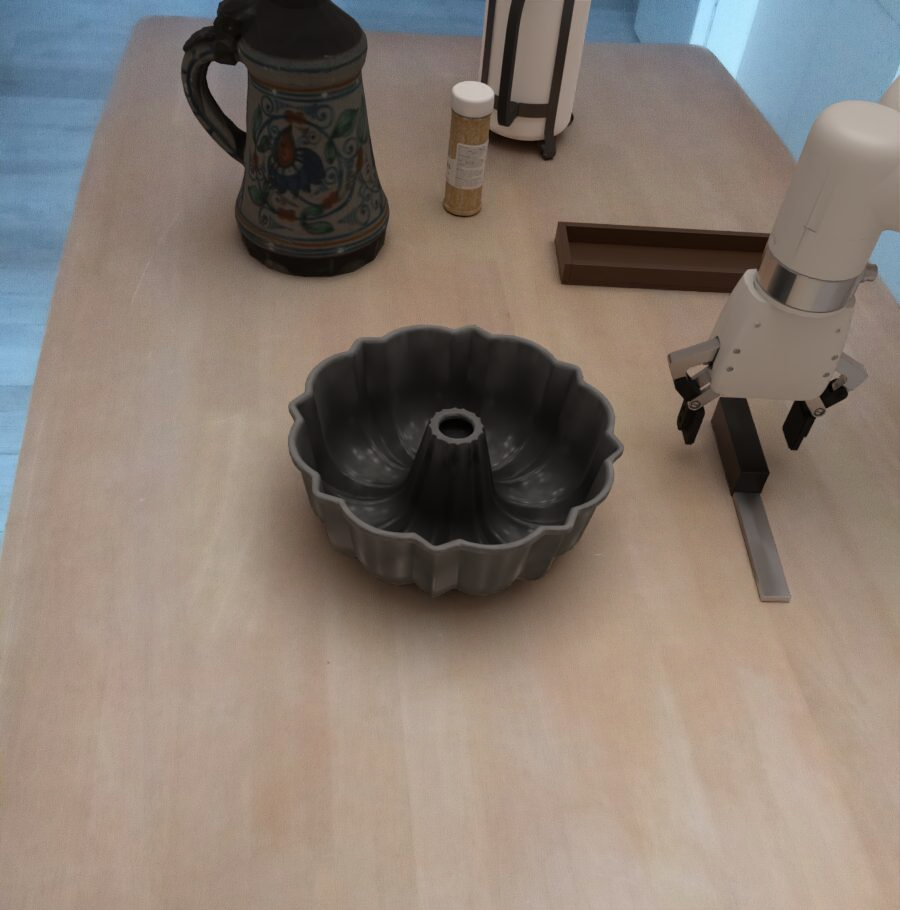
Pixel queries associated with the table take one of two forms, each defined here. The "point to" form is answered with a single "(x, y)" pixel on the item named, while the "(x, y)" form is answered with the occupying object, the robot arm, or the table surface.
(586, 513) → the bundt pan
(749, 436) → the knife
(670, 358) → the robot arm
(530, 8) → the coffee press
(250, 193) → the beer stein
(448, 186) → the sprinkles bottle
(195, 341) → the table surface
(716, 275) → the cutlery tray
